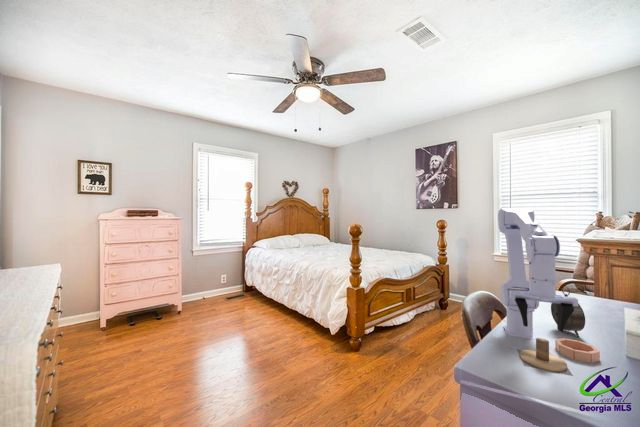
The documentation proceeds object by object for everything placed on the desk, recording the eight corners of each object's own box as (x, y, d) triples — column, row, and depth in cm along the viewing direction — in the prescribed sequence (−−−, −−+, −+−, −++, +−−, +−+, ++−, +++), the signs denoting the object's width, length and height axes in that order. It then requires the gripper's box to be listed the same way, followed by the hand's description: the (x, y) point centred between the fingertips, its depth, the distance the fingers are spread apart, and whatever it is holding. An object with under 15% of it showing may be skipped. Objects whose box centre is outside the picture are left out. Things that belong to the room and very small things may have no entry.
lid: (517, 349, 81) (516, 330, 81) (560, 357, 76) (559, 336, 77) (524, 365, 72) (523, 343, 72) (573, 375, 68) (572, 352, 68)
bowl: (552, 346, 85) (552, 336, 85) (590, 352, 80) (590, 342, 80) (562, 359, 77) (562, 348, 77) (604, 367, 73) (604, 355, 73)
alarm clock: (587, 339, 89) (586, 290, 89) (568, 338, 90) (567, 289, 90) (564, 326, 100) (563, 282, 100) (547, 325, 101) (547, 282, 101)
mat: (517, 351, 81) (517, 349, 81) (560, 359, 76) (560, 357, 76) (524, 367, 72) (524, 365, 72) (573, 378, 68) (573, 375, 68)
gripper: (512, 278, 74) (513, 328, 74) (582, 285, 68) (583, 339, 68) (508, 274, 81) (508, 319, 81) (572, 279, 74) (572, 328, 74)
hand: (542, 327), depth 74 cm, fingers open, 7 cm apart
